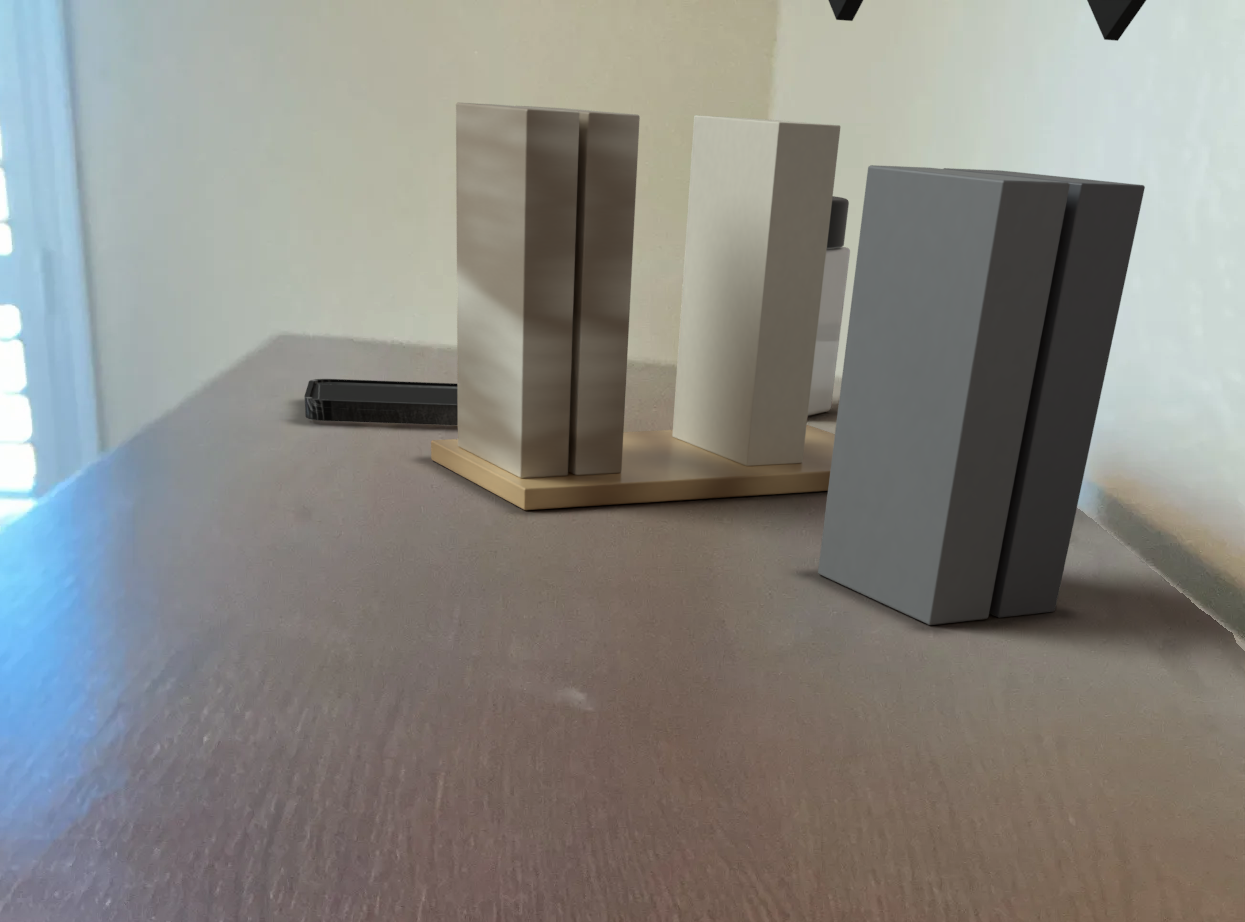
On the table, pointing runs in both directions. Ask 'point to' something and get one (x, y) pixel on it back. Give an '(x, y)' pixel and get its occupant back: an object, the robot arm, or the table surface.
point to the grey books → (972, 385)
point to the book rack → (565, 324)
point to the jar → (830, 310)
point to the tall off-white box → (753, 285)
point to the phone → (382, 401)
